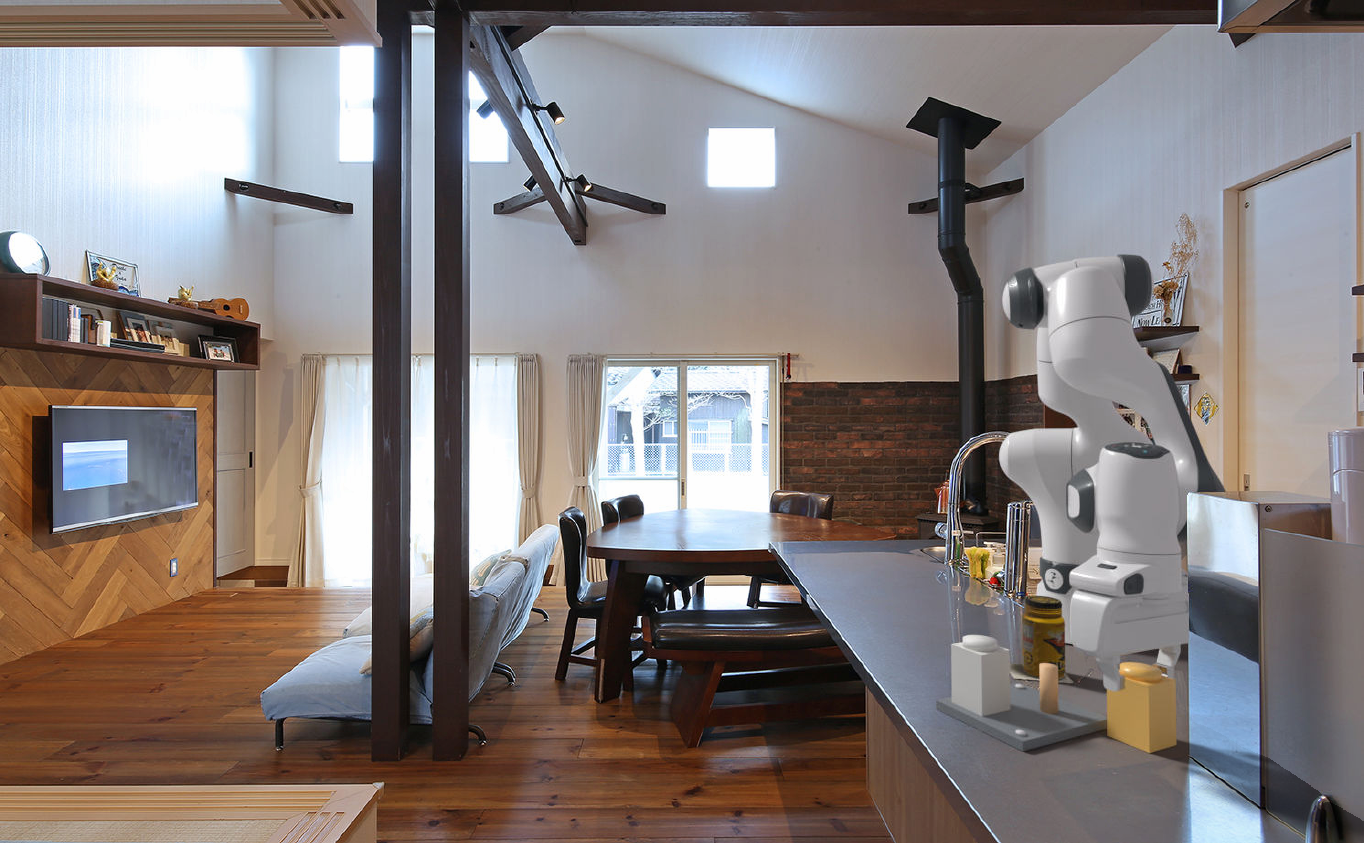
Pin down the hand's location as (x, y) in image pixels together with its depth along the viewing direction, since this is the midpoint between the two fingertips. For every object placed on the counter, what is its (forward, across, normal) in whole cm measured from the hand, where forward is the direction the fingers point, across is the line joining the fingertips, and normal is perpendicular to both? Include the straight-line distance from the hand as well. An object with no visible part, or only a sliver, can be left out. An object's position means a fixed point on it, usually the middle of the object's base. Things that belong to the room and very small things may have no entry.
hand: (1139, 684), depth 86 cm
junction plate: (+7, +7, -11) cm, 15 cm away
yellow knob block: (+7, -1, 0) cm, 7 cm away
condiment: (+7, -10, -22) cm, 25 cm away
